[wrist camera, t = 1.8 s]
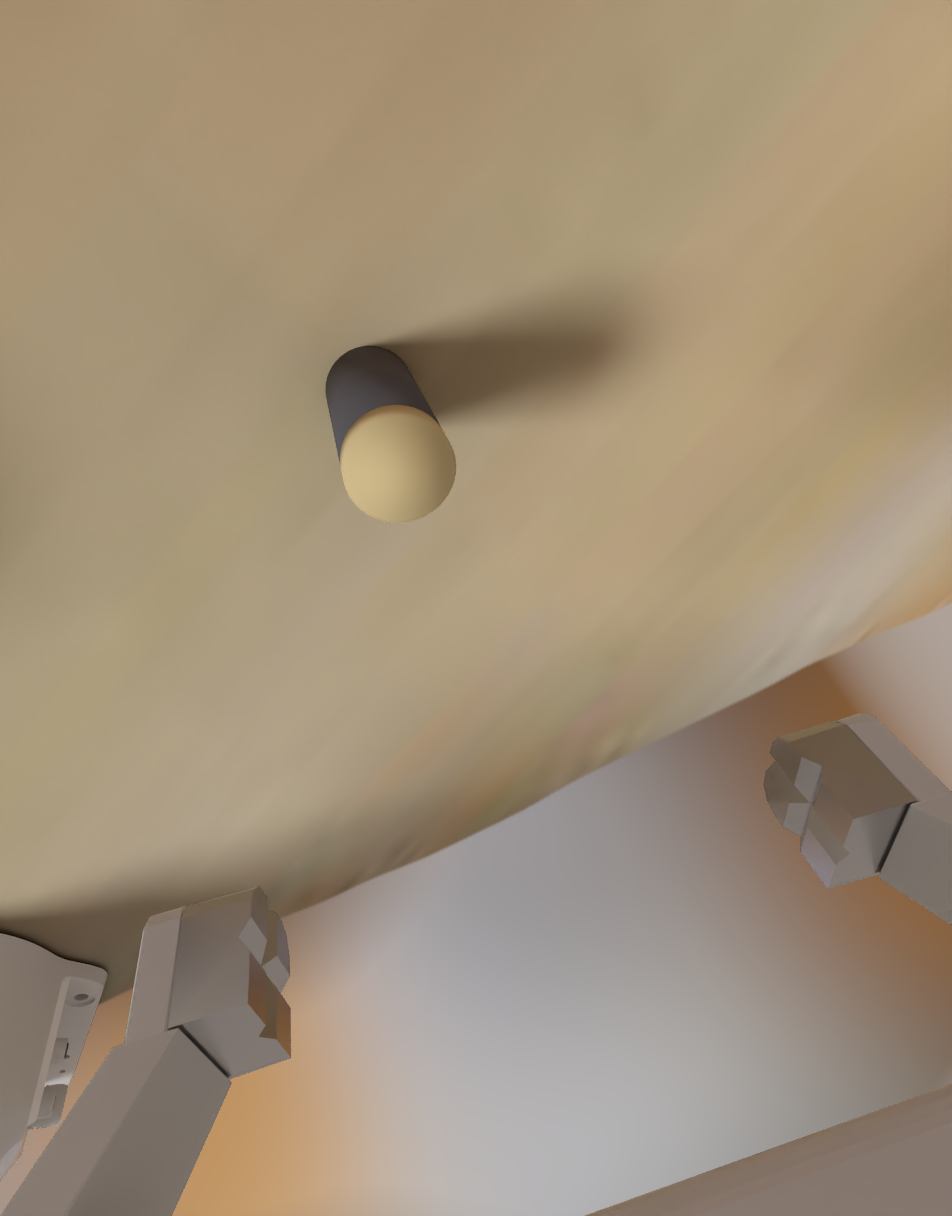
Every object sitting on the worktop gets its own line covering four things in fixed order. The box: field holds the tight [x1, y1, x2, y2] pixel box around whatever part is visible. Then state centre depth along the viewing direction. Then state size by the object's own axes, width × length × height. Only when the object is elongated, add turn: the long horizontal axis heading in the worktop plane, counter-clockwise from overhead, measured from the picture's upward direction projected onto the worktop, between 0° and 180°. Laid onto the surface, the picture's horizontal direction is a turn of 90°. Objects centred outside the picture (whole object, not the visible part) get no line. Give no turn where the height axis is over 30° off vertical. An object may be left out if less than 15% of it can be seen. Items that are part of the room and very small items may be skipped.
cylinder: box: [326, 346, 456, 523], centre depth 24 cm, size 4×4×8 cm
